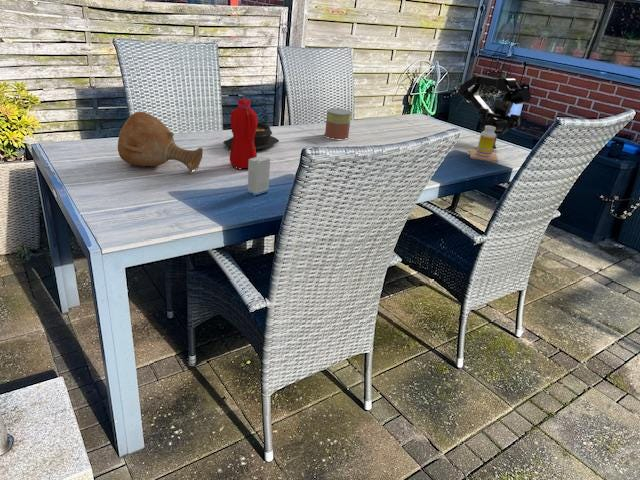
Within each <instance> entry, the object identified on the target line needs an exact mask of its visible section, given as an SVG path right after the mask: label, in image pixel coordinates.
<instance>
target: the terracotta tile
mask: <svg viewBox="0 0 640 480" xmlns="http://www.w3.org/2000/svg"><path fill="white" fill-rule="evenodd" d="M468 152H469V157H470V159H474V160H481V161H486V162H494V163H498V162H499V158H498V155H497V152H493V151H492V154H491V156H481V155H478V154H477V149H473V148H472V149H471V148H469V151H468Z"/></svg>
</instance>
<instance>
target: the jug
mask: <svg viewBox="0 0 640 480" xmlns="http://www.w3.org/2000/svg"><path fill="white" fill-rule="evenodd" d="M174 135H175V134H174V133H173V132H172V131H170V130H169V128H168V126H167V125H165V123H163V122H162V121H161V120H160V119H158V118H157V117H155V116H154V115H152V114H149V113H148V112H144V111H137V112H134V113H132V114H131V115H130V116H129V117H128V118H127V119H126V121H125V122H124V124H123V125H122V128H121V129H120V131H119V135H118V139H117V152H118V156H119V157H120V159H121V160H122V161H124V162H125V163H127V164H129V165H132V164H133V166H137V165H138V166H137V167H145V166H151V167H152V166H154V167H157V166H161V165H163V164H165V163H167V162H169V160H173V161H177V162H180V163H182V164H183V165H185V166H186V168H187V169H188V172H189V173H190V172H192V170H194V169H196V168H197V169H199V167H200V163H201V161H202V159H203V153H204V152H203V150H204V149H203V148H202V147H199V148H197V149H196V150H190V149H189V150H187V149H184V148H182V147H179V146H178V145H177V144H176V143H175V140H174ZM197 169H196V170H197Z"/></svg>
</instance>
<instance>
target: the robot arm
mask: <svg viewBox="0 0 640 480" xmlns="http://www.w3.org/2000/svg"><path fill="white" fill-rule="evenodd" d="M482 85H484V86H488V87H494V88H495V89H496V90H498V91H500V92H505V93H502V94H500V98H501V100H498V99H495V101H494V103H493V105H492V108H493V110H492V109H491V108H490V107H489V105H488V104H487V103H486V102H485V101H484V100H483V99H482V98H481V96H480V95H479V94H480V93H479V91H480V89H481V86H482ZM458 93H459V95H460V96H461V97H462V99H465V100H467V101H469V102H470V103H471V104H472V105H473V107H474V108H475V110H476V111H477V112H478V117H479V120H481V127H480V128H481V129H480V130H481V133H482V132H483V131H485V126H486V125H489V126H494V127H496V130H495V131H494V133H495V134H496V138H495V142H494V146H493V149H496V148H497V146H496V142H497V138H498V135H500V136H503V135H504V134H506V133H507V132H509V131H510V130H512V129H515V128H519V126H520V125H521V116H520V115H519V114H513V113H511V114H510V112H511V109H512V107H513V105H522V104H526V103H529V102H530V101H531V98H532V94H531V92H530V90H529V89H528V86H527V87H526V86H523V87H520V85H519V84H518V83H517V80H516V78H514V77H513V78H509V77H506V78H497V77H491V76H487V75H483V74H475V75H473V76H472V77H471V78H470V79H469V80H467V81H465V82H464V83H463V84H461V85H460V87H459V90H458ZM508 114H510V115H509V116H508Z"/></svg>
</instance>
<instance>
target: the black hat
mask: <svg viewBox="0 0 640 480" xmlns="http://www.w3.org/2000/svg"><path fill="white" fill-rule="evenodd" d="M231 133H232V134H233V131H232V130H231ZM279 142H280V140H279V138H277V137H275V136H273V131H272V130H271V127H270V126H269V125H267V124H265V123H262V122H258V125H257V128H256V132H255V136H254V144H255V149H256V150H262V148H263V149H266V148H270V147H271V146H274V144H278V143H279ZM232 143H233V136H232V137H230V138H229V139H226V140H224V141H223V144H224V145H225V146H226V147H228V148H231V147H232Z"/></svg>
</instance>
